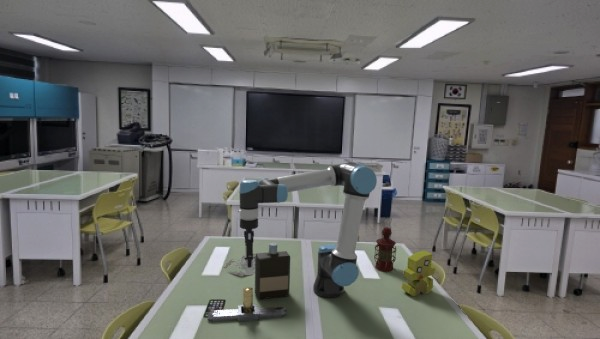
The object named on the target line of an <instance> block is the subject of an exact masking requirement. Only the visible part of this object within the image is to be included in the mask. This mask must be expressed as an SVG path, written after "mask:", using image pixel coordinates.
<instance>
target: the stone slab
mask: <svg viewBox="0 0 600 339" xmlns="http://www.w3.org/2000/svg"><path fill="white" fill-rule="evenodd" d="M255 255H256V253H253V257H255ZM242 257H243V258H242ZM242 257H241V258H240V259H236V260H234V259H233V258H231V259H230V260H229V261H228V262H227V263H226V265H225V266H223V268H224V269H225V268H228V267H229V266H230V267H231V265H232V264H233V263H236V265H235V266H236V267H237V266H238V269H240V270H246V262H245V260H244V259H245V256H244V255H242ZM243 260H244V261H243ZM253 271H254V272H253V275H255V258H253ZM227 273H228V274H232V275H235V276H237V277H238V276H239V277H245V276H247V275H246V272H242V271H236V272H235V271H234V272H233V271H231V272H230V271H229V272H227Z"/></svg>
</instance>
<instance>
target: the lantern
mask: <svg viewBox="0 0 600 339" xmlns="http://www.w3.org/2000/svg"><path fill="white" fill-rule="evenodd" d="M387 219H390V221H389V224H391V223H392V217H391V216H390V217H389V216H388V217H385V218H384V219H383V221H382V223H383V225H385V222H384V221H385V220H387ZM380 232H381V238H378V239H376V241H375V242H376V245H375V246H374V257H373V258H374V261H375V265H374V268H375V269H376V270H377V271H378V272H379V271H380V272H384V273H390V272H393V271H394V269H395V268H394V263H395V261H396V260H397V257H396V253H397V247H396V244H397V243H396V241H395V240H393V239H391V237H392V235H393V232H392V227H391V226H389V227H388V226H383V229H381V231H380Z"/></svg>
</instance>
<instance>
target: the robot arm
mask: <svg viewBox="0 0 600 339" xmlns="http://www.w3.org/2000/svg"><path fill="white" fill-rule="evenodd" d="M377 179H378V178H377V175H376V173H375V171H374V170H373V169H372V168H370V167H368V166H367V165H365V164H359V163H355V162H345V163H339V164H334V165H329V166H328V167H327V168H326V169H319V170H314V171H307V172H301V173H296V174H291V175H285V176H279V177H274V178H265V177H263V178H260V179H259V180H255V179H244V180H241V182H240V183H239V210H238V211H237V212H238V213H239V218H240V219H239V228H240V229H242V230H244V231H243V235H244V245H245V247H244V251H245V253H244V255H245V262H246V264H245V265H246V269H245V273H246V276H250V275H251V276H252V275H254V273H253V271H254V269H253V254H254V248H253V247H254V236H255V231H254V229H257V228H258V227H259V218H258V217H259V204H275V203H277V204H279V203H285V202H286V201H287V200H288V196H289V194H288V193H292V192H297V191H303V190H307V189H314V188H318V187H326V186H331V187H338V186H339V187H340V186H343V189H342V193H343V195H344V196H345V198H344V203H343V208H342V214H341V220H340V224H339V230H338V235H337V240H336V244H333V243H332V244H331V243H328V244H322V245H320V246H318V251H317V272H316V273H317V274H316V278H315V280H314V283H313V287H312V289H313V290H312V291H313V292H314V294H316V295H317V296H320V297H323V298H327V299H328V298H329V299H332V298H339V297H341V296H342V295H344V294H345V293H344V292H345V287H348V286H351V285H352V284H354V283H355V282H356V281H357V279H358V278H359V274H360V273H359V271H360V270H359V268H358V266H357V260H358V255H357V254H356V248H357V242H358V239H359V238H358V236H359V231H360V227H361V221H362V217H363V212H364V206H365V201H366V200H368V199H369V198H370V193H372V191H374V190H375V188H376V186H377V182H378V180H377Z"/></svg>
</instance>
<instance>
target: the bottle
mask: <svg viewBox="0 0 600 339" xmlns="http://www.w3.org/2000/svg"><path fill="white" fill-rule="evenodd" d="M255 254H256V256H255V269H254V271H255V274H254V295H255V297H256V298H257V300H264V299H265V300H266V299H274V298H282V297H289V295H290V289H291V288H290V285H291V284H290V282H291V280H290V279H291V278H290V277H291V256H290V254H289V253H288V251H287V250H285V251H283V250H282V251H278V243H276V242H270V243H268V252H256V253H255Z"/></svg>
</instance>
